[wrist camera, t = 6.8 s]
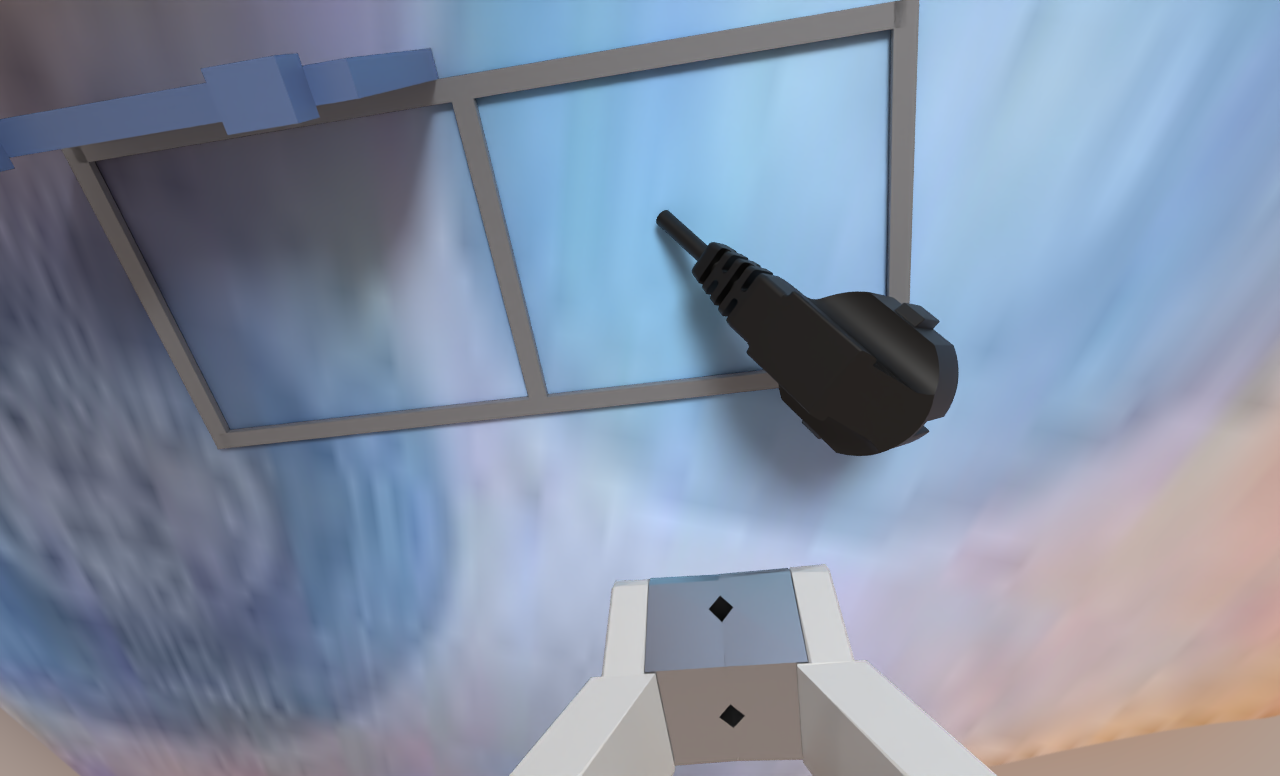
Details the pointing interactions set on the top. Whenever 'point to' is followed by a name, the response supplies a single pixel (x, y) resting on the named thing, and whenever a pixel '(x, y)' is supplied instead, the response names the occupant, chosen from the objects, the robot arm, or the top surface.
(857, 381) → the power plug
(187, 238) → the top surface
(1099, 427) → the top surface
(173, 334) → the frame
